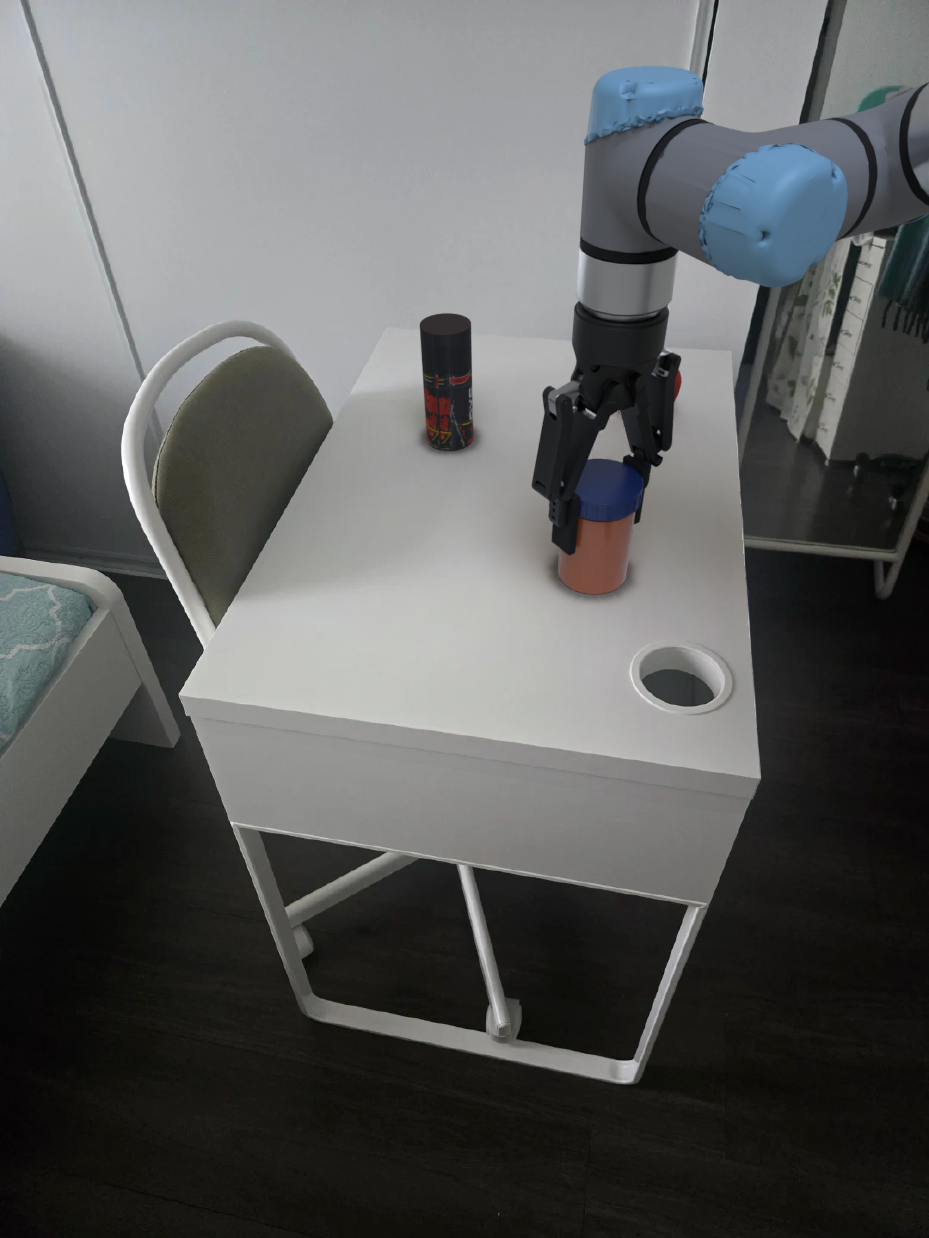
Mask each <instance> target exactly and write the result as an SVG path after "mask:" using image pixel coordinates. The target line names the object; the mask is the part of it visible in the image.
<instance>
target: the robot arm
mask: <svg viewBox="0 0 929 1238" xmlns="http://www.w3.org/2000/svg"><path fill="white" fill-rule="evenodd" d="M703 97H704V83H703V80H702V79H701V78H700V76H699V75H698V74H695V72H693V71H691V70H689V69H685V68H682V67H681V68H680V67H673V66H663V65H661V66H659V65H639V66H637V65H635V66H629V67H622V68H617V69H612V70H610V71H607V72H606V73H604V74H602V75H601V76H600V77H599V78H598V79H597V81H596V82H595V84H594V86H593V89H592V92H591V99H590V107H589V114H588V123H587V131H586V136H585V137H584V140H583V146H584V163H583V181H582V196H581V197H582V198H581V212H580V214H581V215H580V225H579V227H580V229H579V245H578V257H577V268H576V281H575V283H576V284H575V286H576V287H575V296H576V299H577V300H578V301H577V302H576V303H575V305H574V308H573V318H572V319H573V320H572V336H571V346H572V349H573V352H574V356H575V365H574V368H573V371H572V373H571V376H570V380H569V382H567V383H565V384H564V385H562V386H560V387H559V388H555V387H554V386H552V385H548V386H546V387H544V389H543V391H542V394H541V395H542V396H541V398H542V404H543V413H544V414H543V417H542V418H543V420H542V423H541V424H542V425H541V428H540V429H541V430H540V435H539V441H538V446H537V451H536V458H535V462H534V463H535V464H534V469H533V473H532V474H533V475H532V478H531V479H532V480H531V489H532V490H534V491H535V492H537V493H538V494H539V495H540V496H542V497H543V498H545V499H546V500H547V501H548V502H549V503H548V514H547V515H548V520H549V521H550V522H551V523H552V524H551V525H552V527H551V543H552V544H554V545H555V546H556V547H558V548H560V549H561V550H563V551H564V552H565V553H566V554H568V555H569V556H570V555H572V554H574V553H575V549H576V539H577V528H578V517H579V507H580V496H579V495H577V494H576V493H574V492H575V490H576V487H577V485H578V482H579V480H580V477H581V475H582V472H583V470H584V467H585V465H586V462H587V460H588V459H589V458H590V455H591V453H592V450H593V447H594V445H595V443H596V440H597V438H598V435H599V433H600V432H602V431H604V430H605V429H606V428H607V425H608V422H609V420H610V417H611V416H612V415H614V414H616V413H617V412H618V411H619V412H620V414H621V420H622V423H623V427H624V431H625V434H626V440H627V443H628V447H629V451H630V453H632V454H633V455H631V454H630V453H629V454H626V455H623V457H622V461H621V462H622V463H625V464H627V465H629V466H631V467H632V468H634V469H635V470H636V471H637V472H638V473H639V474H640V475H641V477H642V479H643V489H644V490H643V496H642V501H641V503H640V507H638V509H637V510H636V512H635V519H634V526H635V525H636V524H639V523H640V522H641V517H642V511H643V505H644V504H643V503H644V498H645V491H646V489H647V488H648V485H649V483H650V477H651V471H652V467H654V468H658V467H659V466H661V464H663V460H664V457H663V456H662V455H660V454H659V453H660V452H662V451H663V452H668V451H669V450H670V449H671V447H672V446H673V432H674V413H675V402H674V396H675V379H676V376H677V373H678V370H679V371H680V366H681V363H682V356H681V355H679V354H677V353H676V352H673V351H671V350H669V349H667V348H666V347H665V342H666V336H667V330H668V324H669V318H670V317H669V316H670V310H669V307H668V306H669V304H670V303H671V302H672V301H673V295H674V294H673V293H674V287H675V281H676V274H677V266H678V259H679V253H680V252H681V253H683V254H686V255H688V256H690V257H692V258H693V259H695V260H698V261H700V262H702V263H704V264H706V265H708V266H710V267H712V268H714V269H715V270H716V271H718V272H719V273H722V274H723V275H725V276H727V277H732V278H734V279H736V280H739V281H746V282H751V283H754V284H756V285H760V286H761V287H766V288H782V287H787V286H790V285H793V284H794V283H796V282H798V281H800V280H802V279H804V278H803V277H804V276H805V275H806V273H807V271H808V270H809V269H811V268H813V267H815V268H816V267H817V266H818V265H819V264H820V263H821V262H822V261H823V260H824V259H825V257H826V256H827V254H828V253H829V252H830V250H831V249H832V247H833V246H834V243H837V242H838V241H840V240H844V239H847V238H848V239H849V238H852V237H856V236H859V235H864V234H867V233H872V232H876V231H880V230H883V229H884V230H885V229H892V228H897V227H900V226H903V225H906V224H911V223H915V222H917V221H919V220H921V219H923V218H926V217H927V216H928V215H929V81H928V82H926V83H923V84H921V85H918V86H916V87H914V88H912V89H909V90H908V91H906V92H903V93H902V94H900V95H898V96H895V97H893V98H891V99H889V100H888V101H886V102H883V103H881V104H879V105H876V106H873V107H871V108H869V109H865V110H862V111H858V112H853V113H849V114H845V115H842V116H836V117H830V118H825V119H820V120H814V121H809V122H804V123H799V124H795V125H790V126H784V127H780V128H774V129H770V130H765V131H759V132H758V131H757V132H756V131H755V132H753V131H751V132H750V131H743V130H739V129H735V128H730V127H726V126H721V125H717V124H715V123H713V122H710V121H708V120H705V119H703V118H702V115H703V114H704V109H705V108H704V106H703ZM587 410H588V411H589V412H588V411H587ZM590 412H591V413H590ZM592 413H593V414H594V415H593V414H592ZM562 481H563V482H562Z"/></svg>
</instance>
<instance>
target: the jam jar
mask: <svg viewBox="0 0 929 1238" xmlns="http://www.w3.org/2000/svg"><path fill="white" fill-rule="evenodd" d="M635 512H636V511H635ZM635 512H634V513H632V514H631V515H629V516H627V517H625V518H622V519H618V520H613V521H594V520H589V519H585V518H582V517H578V528H577V539H576V549H575V553H574V554H572V555H570V556H569V555H568V554H566V553H565V552H564V551H563V550H561V549H560V548H559V547H558V548H559V550H558V560H557V561H558V562H557V563H558V564H557V575H558V577H559V579H560V581H561V582H562V583H563V584H564V585H565V586H566V587H568V588H569V589H570V590H573V591H575V592H578V593H582V594H585V595H603V594H608V593H611V592H613V591H615V590H617V589H618V588H620V587H621V586H622V585H623V584H624V582H625V580H626V578H627V573H628V566H629V559H630V552H631V546H632V545H631V544H632V538H633V533H634V526H635V525H634V519H635Z"/></svg>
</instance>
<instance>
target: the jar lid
mask: <svg viewBox="0 0 929 1238" xmlns="http://www.w3.org/2000/svg"><path fill="white" fill-rule="evenodd" d="M622 462H623V461H619V460H615V459H609V458H588V460H587V462H586V465H585V467H584V470H583V472H582V475H581V477H580V480H579V482H578V485H577V487H576V490H575V492H574V493H576V494H577V495H579V496H580V507H579V517H582V518H585V519H589V520H594V521H613V520H618V519H622V518H625V517H627V516H629V515H631V514H632V513H634V512H635V511H636V510H637V509H638V507H640V503H641V501H642V496H643V490H644V489H643V479H642V477H641V475H640V474H639V473H638V472H637V471H636V470H635V469H634V468H632V467H631V466H629V465H627V464H625V463H622ZM562 482H563V481H562Z"/></svg>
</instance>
